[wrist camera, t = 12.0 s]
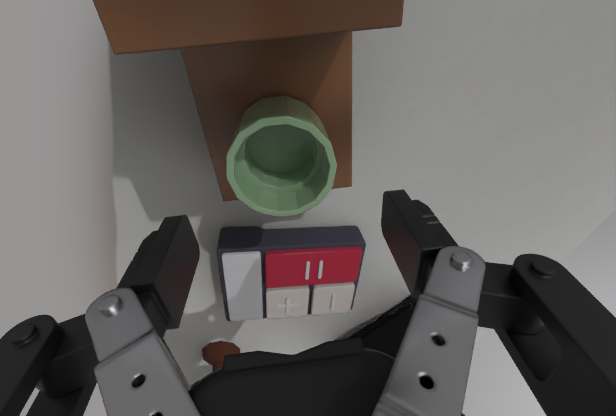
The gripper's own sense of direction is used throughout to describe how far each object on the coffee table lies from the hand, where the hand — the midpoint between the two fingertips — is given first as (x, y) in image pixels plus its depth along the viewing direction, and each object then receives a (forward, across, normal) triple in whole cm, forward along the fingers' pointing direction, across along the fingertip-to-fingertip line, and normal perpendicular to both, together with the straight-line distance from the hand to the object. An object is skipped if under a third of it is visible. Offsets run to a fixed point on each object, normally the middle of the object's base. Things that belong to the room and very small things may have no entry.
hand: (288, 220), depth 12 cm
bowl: (+10, 0, 0) cm, 10 cm away
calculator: (+16, +1, +18) cm, 24 cm away
